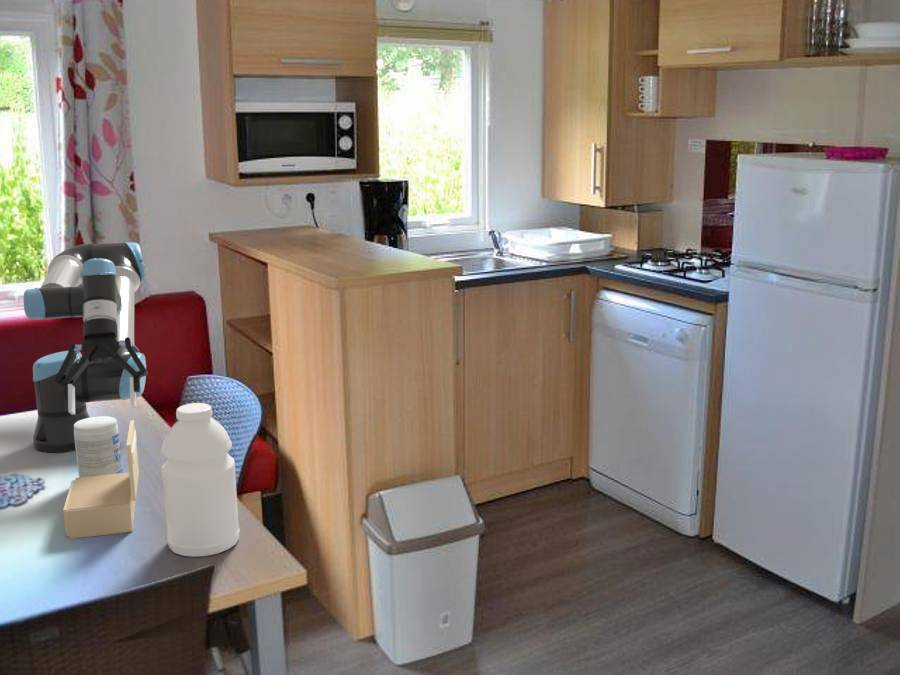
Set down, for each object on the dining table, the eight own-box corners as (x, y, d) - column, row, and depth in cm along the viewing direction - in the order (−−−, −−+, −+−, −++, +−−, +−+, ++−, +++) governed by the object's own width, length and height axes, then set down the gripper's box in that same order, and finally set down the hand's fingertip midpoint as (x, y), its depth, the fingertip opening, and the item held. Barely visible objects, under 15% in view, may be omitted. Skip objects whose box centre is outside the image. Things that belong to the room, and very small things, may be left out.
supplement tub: (128, 485, 216) (122, 424, 212) (85, 494, 211) (78, 432, 207) (117, 471, 224) (111, 412, 220) (75, 480, 219) (68, 420, 215)
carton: (75, 503, 206) (72, 477, 204) (136, 497, 209) (133, 471, 208) (65, 539, 189) (62, 511, 188) (132, 531, 192) (129, 503, 191)
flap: (135, 472, 207) (130, 420, 204) (140, 471, 207) (135, 419, 204) (131, 501, 192) (126, 445, 189) (136, 500, 192) (131, 444, 189)
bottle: (175, 564, 178) (163, 423, 172) (161, 535, 190) (149, 403, 184) (248, 548, 185) (239, 411, 178) (230, 521, 197) (221, 392, 190)
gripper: (39, 322, 217) (40, 411, 210) (151, 311, 220) (155, 398, 213) (50, 333, 224) (51, 420, 217) (158, 322, 227) (162, 407, 220)
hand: (102, 409), depth 215 cm, fingers open, 13 cm apart
